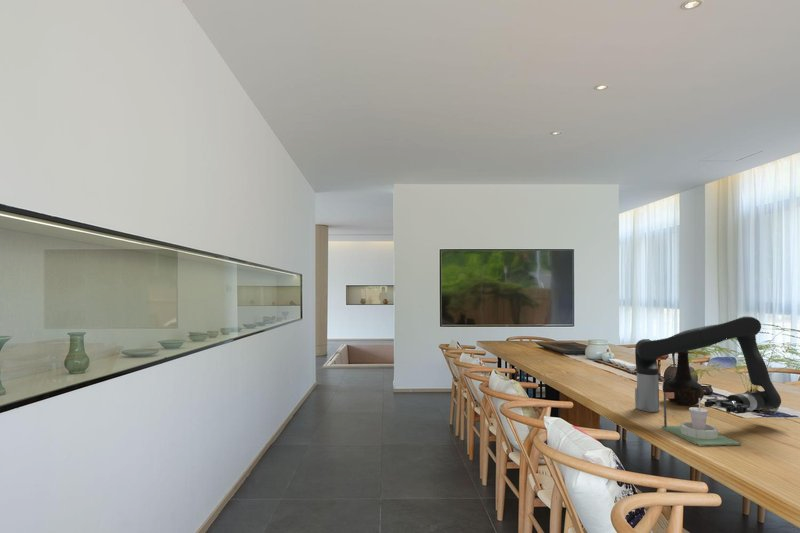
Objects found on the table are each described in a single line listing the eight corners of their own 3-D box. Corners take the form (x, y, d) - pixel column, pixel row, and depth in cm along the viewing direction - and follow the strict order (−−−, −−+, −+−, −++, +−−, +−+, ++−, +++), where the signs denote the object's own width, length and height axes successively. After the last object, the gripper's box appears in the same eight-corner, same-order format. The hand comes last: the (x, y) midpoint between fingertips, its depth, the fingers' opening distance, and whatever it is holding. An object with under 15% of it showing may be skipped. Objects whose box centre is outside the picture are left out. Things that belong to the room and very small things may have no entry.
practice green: (661, 428, 192) (660, 392, 193) (698, 427, 193) (697, 391, 194) (699, 446, 170) (698, 405, 171) (740, 445, 171) (739, 405, 172)
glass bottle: (666, 397, 245) (665, 344, 247) (706, 403, 234) (705, 347, 235) (659, 403, 232) (657, 347, 233) (701, 410, 220) (699, 351, 221)
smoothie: (711, 437, 178) (710, 400, 179) (693, 436, 179) (692, 399, 180) (704, 432, 184) (703, 396, 185) (686, 431, 186) (685, 395, 186)
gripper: (723, 390, 199) (698, 393, 193) (760, 397, 186) (734, 401, 180) (723, 408, 199) (698, 412, 193) (760, 416, 186) (735, 421, 180)
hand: (716, 407), depth 186 cm, fingers open, 8 cm apart
